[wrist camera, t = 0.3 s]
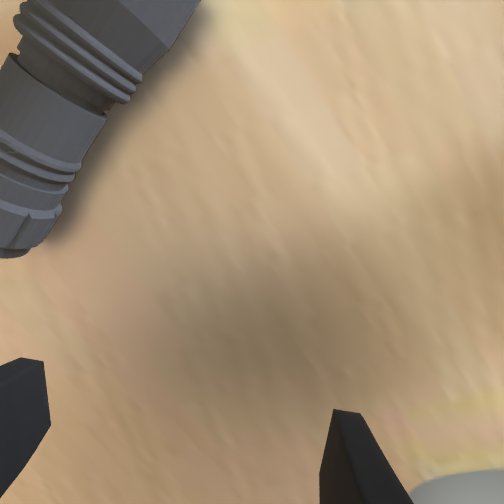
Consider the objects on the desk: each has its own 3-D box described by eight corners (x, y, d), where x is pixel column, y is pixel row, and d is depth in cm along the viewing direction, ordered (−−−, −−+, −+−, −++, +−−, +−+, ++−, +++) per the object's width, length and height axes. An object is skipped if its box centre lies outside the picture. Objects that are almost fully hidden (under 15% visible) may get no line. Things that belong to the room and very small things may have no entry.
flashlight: (56, 258, 20) (-30, 283, 15) (-20, 198, 20) (-135, 201, 14) (218, 11, 17) (184, -71, 11) (128, -62, 17) (51, -179, 11)
